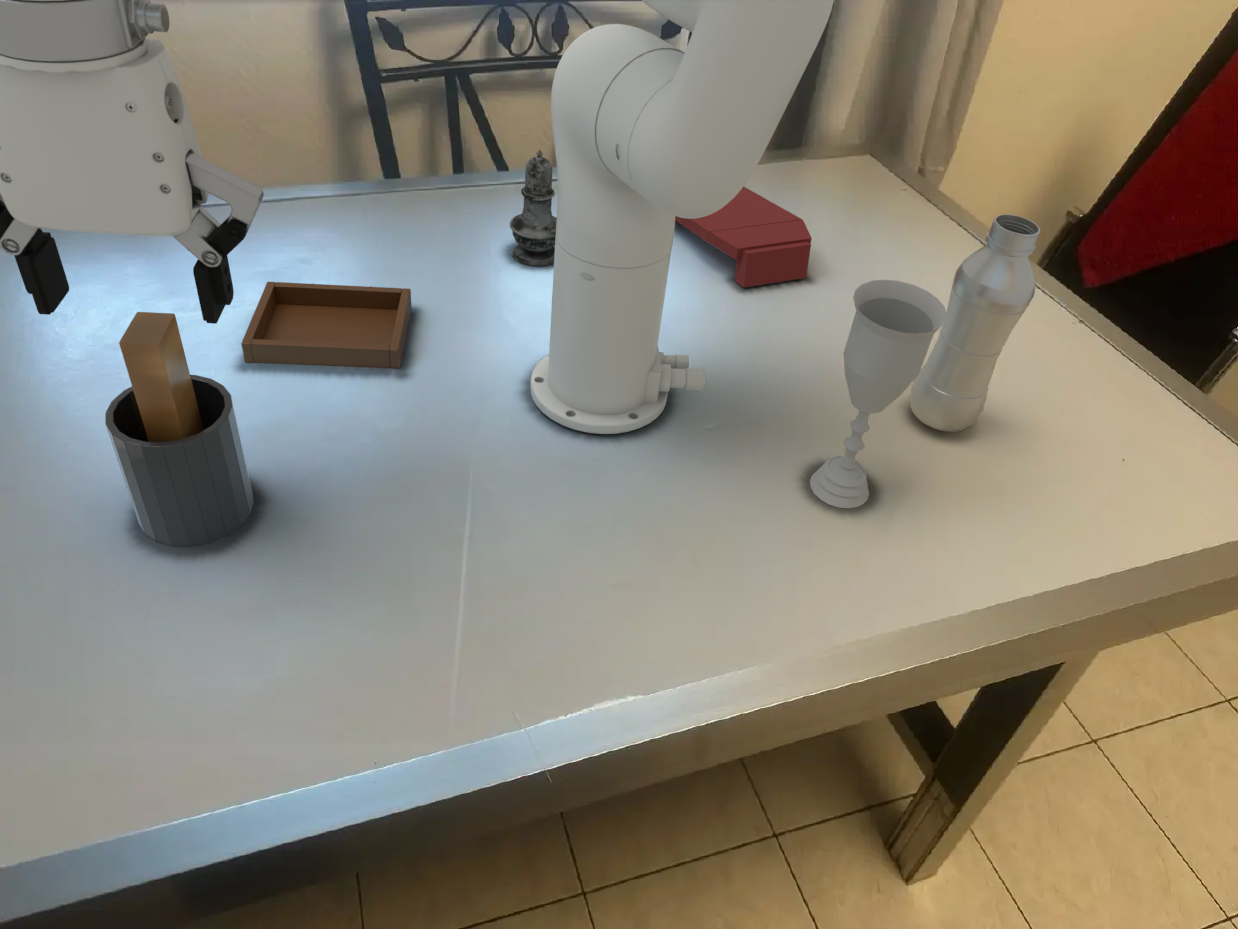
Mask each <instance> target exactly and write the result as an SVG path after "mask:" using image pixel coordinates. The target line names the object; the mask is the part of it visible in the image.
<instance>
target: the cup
mask: <svg viewBox="0 0 1238 929" xmlns="http://www.w3.org/2000/svg"><path fill="white" fill-rule="evenodd" d="M190 377H191V381H192V385H193V389H194V393H195V397H196V401H197V405H198V409H199V413H200V417H201V421H202V425H203V429H204V430H203V431H202V432H200V433H198V434H195V435H193V436H190V437H187V438H184V439H181V440H174V441H168V442H149V441H148V437H147V434H146V431H145V427H144V424H143V421H142V417H141V414H140V411H139V407H138V404H137V401H136V398H135V394H134V391H133V388H132V386H130V387H128V388H126V389H124V390H122V391H121V392H120V393H119V394H118V395H117V396H116V397H115V398H113V399H112V401H110V403H109V405H108V407H107V409H106V411H105V415H104V417H105V418H104V422H105V423H104V425H105V427H106V430H107V433H108V436H109V439H110V442H111V445H112V448H113V451H114V454H115V457H116V460H117V463H118V466H119V469H120V472H121V475H122V478H123V481H124V484H125V487H126V490H127V493H128V495H129V499H130V502H131V504H132V508H133V511H134V514H135V516H136V520H137V522H138V525H139V527H140V528H141V530H142V531H143V533H144V534H145V535H146V536H147V537H149V538H150V539H151V540H153V541H155V542H158V543H160V544H163V545H167V546H171V547H197V546H201V545H206V544H210V543H214V542H216V541H218V540H221V539H223V538H225V537H227V536H229V535H231V534H233V533H234V532H235V531H237V530H238V529H239V528H240V527H241V526H242V525H243V524H245V522H246V521H247V520H248V518H249V517H250V515H251V513H252V511H253V507H254V503H255V501H254V495H253V489H252V483H251V480H250V475H249V470H248V466H247V461H246V457H245V451H244V447H243V444H242V439H241V434H240V429H239V425H238V420H237V416H236V411H235V407H234V402H233V398H232V394H231V393H230V392H229V391H228V389H227V388H226V387H225V385H223V384H222V383H219V382H218V381H216V380H215V379H212V378H210V377H205V376H202V375H198V374H190Z"/></svg>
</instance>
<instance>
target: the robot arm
mask: <svg viewBox="0 0 1238 929" xmlns="http://www.w3.org/2000/svg"><path fill="white" fill-rule="evenodd" d="M641 1H642V3H644V4H645V5H646V6H647V7H648V8H650V9H652V10H653V11H654V12H656V13H657V14H659V15H661V16H663V17H664V18H665V19H667V20H669V21H671V22H672V23H673V24H675V25H677V26H680V27H681V28H682V29H684V30H685V31H688V32H690V33H691V36H690V37H689V41H688V44H687V46H686V48H685V51H682V50H681V49H680V48H677V47H676V46H675V45H672V44H671V43H669V42H667V41H665V40H664V39H663V38H660V37H658V36H657V35H655V34H654V33H651V32H650V31H646V30H644V29H642V28H640V27H636V26H633V25H628V24H624V23H623V24H622V23H609V24H603V25H597V26H595V27H592V28H590V29H588V30H587V31H584V32H582V34H580V35H579V36H578V37H576V38H575V39H574V40H573V41H572V42H571V44H570V45H568V47H567V49H565V51H564V52H563V54H562V56H561V58H560V60H559V62H558V64H557V67H556V69H555V73H554V75H553V80H552V85H551V86H552V87H551V93H550V118H551V128H552V137H553V146H554V147H553V148H554V154H555V163H556V181H557V183H556V184H557V185H556V186H557V190H556V191H557V195H556V196H557V197H556V198H557V200H556V201H557V202H556V218H557V223H556V236H555V245H554V247H555V254H554V263H553V275H552V276H553V277H552V290H551V291H552V292H551V293H552V294H551V309H550V310H551V312H550V330H549V350H548V354H547V355H545V356H544V357H542V358H541V359H540V361H538V362H537V363H536V364H535V366H534V367H533V369H532V372H531V374H530V375H531V376H530V384H529V385H530V386H529V390H530V396H531V398H532V401H533V403H534V404H535V406H536V407H537V408H538V409H539V410H540V412H542V414H544V415H545V416H546V417H548V418H549V419H551V420H552V421H554V422H556V423H557V424H559V425H561V426H563V427H566V428H569V429H571V430H574V431H579V432H584V433H588V434H598V435H616V434H621V433H628V432H631V431H636V430H638V429H639V430H640V429H641V428H644V427H645V426H647V425H649V424H652V423H653V422H654V421H655V420H656V419H658V417H660V415H661V414H662V412H663V411H664V410H665V407H666V404H667V401H668V394H669V392H670V390H671V389H683V390H695V391H696V390H698V391H705V389H706V383H707V372H706V369H705V368H700V367H699V368H697V367H696V368H694V367H690V356H689V354H688V355H687V354H673V355H672V354H671V355H669V354H664V353H665V352H664V351H660V350H659V338H660V332H661V325H662V318H663V310H664V304H665V298H666V290H667V283H668V276H669V271H670V270H669V268H670V261H671V255H672V249H673V243H674V236H675V229H676V228H675V227H676V221H675V216H677V217H680V218H688V219H695V218H701V217H705V216H708V215H710V214H712V213H714V212H716V211H718V210H720V209H721V208H723V207H724V206H725V205H726V204H728V203H729V202H730V201H731V200H732V199H733V198H734V197H735V196H736V195H737V194H738V193H739V192H740V190H741V189H742V188H743V187H745V185H746V184H747V183H748V181H749V179H750V178H751V177H752V175H753V174H754V172H755V170H756V168H757V166H758V165H759V162H760V161H761V159H762V157H763V155H764V153H765V152H766V149H767V148H768V146H769V143H770V142H771V139H772V138H773V135H774V133H775V131H776V130H777V127H778V125H779V123H780V121H781V119H782V117H783V115H784V113H785V112H786V109H787V107H788V105H789V103H790V101H791V99H792V97H793V96H794V93H795V91H796V89H797V87H798V85H799V83H800V81H801V79H802V77H803V75H804V73H805V71H806V69H807V67H808V65H809V63H810V61H811V59H812V57H813V55H814V52H815V51H816V49H817V46H818V44H819V42H820V40H821V37H822V35H823V33H824V31H825V29H826V26H827V24H828V21H829V18H830V16H831V13H832V10H833V6H834V2H835V0H641ZM169 29H170V16H169V10H168V8H167V6H166V4H164V3H155V2H151V1H150V0H0V195H1V198H2V200H1V199H0V249H1V250H2V251H3V252H4V253H5V254H8V255H10V256H13V257H14V259H15V262H16V265H17V267H18V271H19V274H20V277H21V279H22V282H23V285H24V289H25V290H26V292H27V293H28V294H29V295H31V296H32V299H33V302H34V305H35V308H36V310H37V313H38V314H39V315H46V316H47V315H51V314H53V313H55V311H56V310H57V308H58V307H59V306H60V304H61V303H62V301H63V300H64V299H65V297H66V296H67V295H68V293H69V292H70V285H69V281H68V278H67V274H66V271H65V269H64V265H63V262H62V260H61V259H62V258H61V255H60V253H59V248H58V246H57V242H56V240H55V238H54V237H53V236H52V234H51V232H49V231H50V230H52V231H61V232H62V231H63V232H77V233H91V234H105V235H106V234H108V235H123V236H140V237H163V238H164V237H165V238H166V237H173V238H174V239H175V240H176V241H177V242H178V243H180V245H181V246H183V247H184V248H185V249H186V250H187V251H189V252H190V253H191V255H193V256H194V257H195V258H196V259H197V260H196V262H195V264H194V266H193V269H192V274H193V278H194V282H195V287H196V291H197V297H198V302H199V306H200V307H199V308H200V312H201V315H202V320H203V321H204V322H206V324H216V325H217V323H218V322H219V319H220V318H221V316H222V313H223V311H224V309H225V307H226V306H230V305H231V304H232V302H233V300H234V293H235V292H234V285H233V278H232V273H231V268H230V263H229V257H228V255H229V254H230V253H231V252H232V251H233V250H234V249H235V248H236V247H237V246H239V245H240V243H242V242H243V241H244V239H245V238H246V236H247V234H248V233H249V230H250V228H251V226H252V224H253V222H254V219H255V217H256V214H257V212H258V210H259V208H260V206H261V203H262V202H263V199H264V195H265V193H264V191H263V188H261V187H260V186H259V185H256V184H255V183H253V182H251V181H249V180H247V179H245V178H243V177H241V176H239V175H237V174H236V173H233V172H231V171H229V170H227V169H225V168H223V167H221V166H219V165H217V164H216V163H213V162H212V161H209V160H208V159H205V158H203V156H202V152H201V148H200V144H199V140H198V137H197V133H196V130H195V127H194V123H193V120H192V117H191V114H190V110H189V107H188V105H187V104H188V103H187V101H186V99H185V96H184V92H183V89H182V86H181V84H180V80H179V78H178V76H177V74H176V71H175V68H174V65H173V62H172V61H171V58H170V57H169V54H168V52H167V50H166V47H165V45H164V44H163V42H161V41H160V40H157V39H153V38H146V37H148V35H149V34H151V35H152V34H154V32H158V33H168V31H169ZM209 195H212V196H214V197H216V198H218V199H220V200H222V201H223V202H225V203H227V204H228V206H230V208H231V209H230V210H231V211H230V214H229V216H228V217H227V218H226V219H225V220H224V221H223V222H222V223H220V222H219V221H218V220H217V219H216V217H214V216H213V215H212V214H211V213H209V211H208V210H206V209H205V208H204V206H202V205H203V204H204V205H205V204H207V201H208V200H209ZM43 230H49V231H43Z"/></svg>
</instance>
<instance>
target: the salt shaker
mask: <svg viewBox="0 0 1238 929" xmlns="http://www.w3.org/2000/svg"><path fill="white" fill-rule="evenodd" d="M535 155H536V156H534V157H532V158H529V159H528V160H527V161H526V163H525V169H524V170H525V172H524V186H523V187H522V188H521V190H520V194H521V196H522V197H523V208H522V212H521V213H520V214H517V215H515V216H514V217H512V218H511V219H510V221H509V229H510V230H511V231H512V236H513V239H514V240H515V242H516V245H515V246H514V247H513V248H512V249H511V257H512V258H513V260H515V261H516V262H518V263H520V264H522V265H525V266H529V267H547V266H550V265H554V254H555V236H556V223H557V216H554V215H553V212H552V200H553V198H554V197H555V195H556V192H555V190H554V189H553V188H552V185H553V163H552V162H551V161H550V160H549V159H548V158H545V157H544V156H543V155H544V153H543V152H542V150H541V149H538V151H537V152H536V154H535Z"/></svg>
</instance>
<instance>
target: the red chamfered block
mask: <svg viewBox="0 0 1238 929" xmlns="http://www.w3.org/2000/svg"><path fill="white" fill-rule="evenodd" d="M675 222H677V223H678V224H680V226H682V227H684V228H686V230H688V231H690V232H691V233H693V234H694V235H695V236H697V237H699V238H700V239H701V240H703V241H704V242H705V243H707V244H709V245H711V246H712V247H714V248H716V249H718V250H719V251H721V252H723V253H724V254H726V255H727V256H729V257H731V258H733V259H734V260H736V263H735V272H734V282H735V283H737V284H738V285H740V286H741V287H743V288H750V287H755V286H763V285H768V284H775V283H781V282H787V281H795V280H801V279H806V278H807V274H808V268H809V260H810V254H811V247H812V244H811V243H812V239H813V238H812V236H811V233H810V231H809V230H808V227H807V225H806V223H805V221H804V219H802V218H801V217H799V216H797V215H796V214H794V213H792V212H790V211H789V210H787V209H785V208H783V207H781V206H779V205H777V204H776V203H775V202H772V201H770V200H769V199H767V198H766V197H764V196H762V195H760V194H758V193H756V192H754V191H753V190H751V189H749V188H748V187H746V186H744V187H743V188H742V189H741V190H740V192H739V193H738V194H737V195H736V196H735V197H734V198H733V199H732V200H731V201H730V202H729V203H728V204H726V205H725V206H724V207H723V208H721V209H720V210H718V211H716V212H714V213H712V214H710V215H708V216H705V217H701V218H695V219H688V218H680V217H677V216H675Z"/></svg>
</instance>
